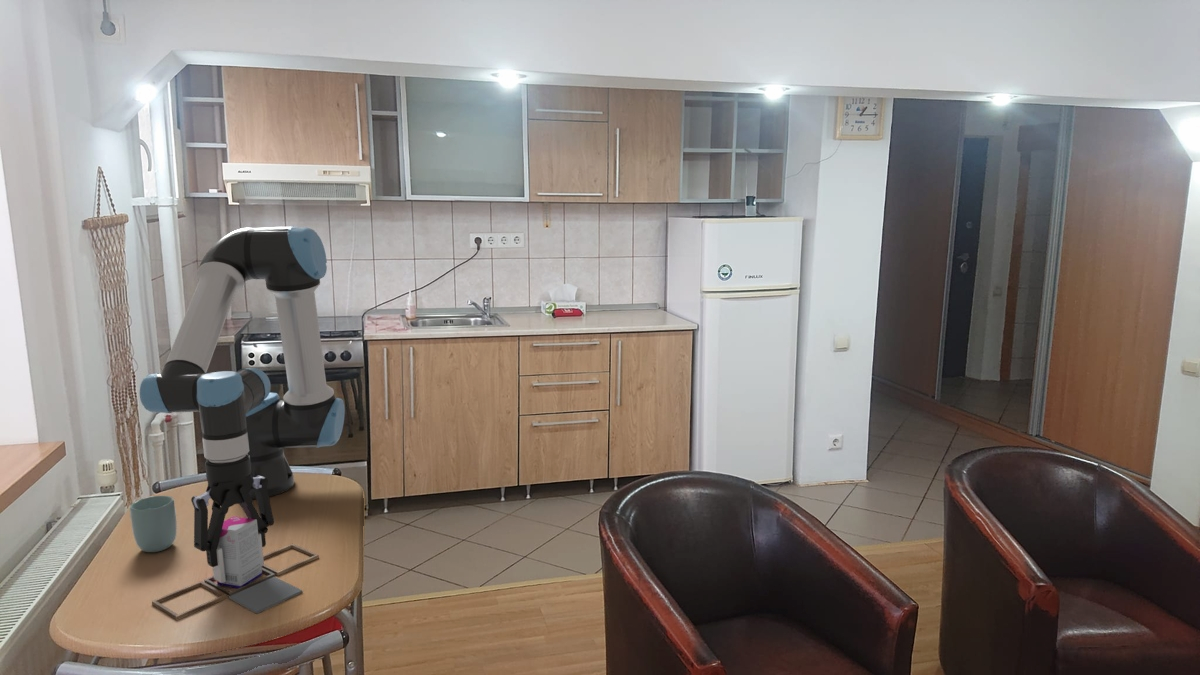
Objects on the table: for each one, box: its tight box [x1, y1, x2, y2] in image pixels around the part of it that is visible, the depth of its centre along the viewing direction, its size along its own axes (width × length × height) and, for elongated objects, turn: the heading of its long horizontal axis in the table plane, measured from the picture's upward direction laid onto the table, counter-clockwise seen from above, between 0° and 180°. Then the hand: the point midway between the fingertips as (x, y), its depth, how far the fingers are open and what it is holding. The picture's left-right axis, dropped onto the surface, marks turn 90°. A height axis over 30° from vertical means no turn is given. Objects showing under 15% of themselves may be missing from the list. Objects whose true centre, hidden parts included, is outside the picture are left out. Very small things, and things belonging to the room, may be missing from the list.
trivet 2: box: [262, 543, 320, 576], centre depth 156 cm, size 9×9×1 cm
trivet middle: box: [203, 568, 276, 597], centre depth 149 cm, size 9×9×1 cm
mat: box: [228, 576, 303, 614], centre depth 143 cm, size 9×9×1 cm
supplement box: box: [216, 516, 263, 589], centre depth 148 cm, size 6×6×12 cm
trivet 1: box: [151, 580, 229, 621], centre depth 141 cm, size 9×9×1 cm
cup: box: [129, 495, 178, 553], centre depth 161 cm, size 8×8×10 cm
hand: (239, 571), depth 148 cm, fingers closed on supplement box, 7 cm apart
